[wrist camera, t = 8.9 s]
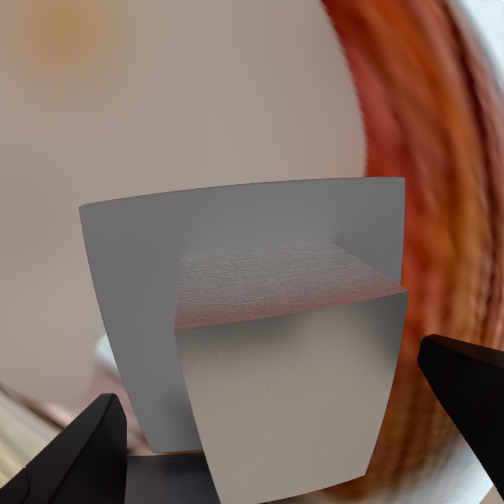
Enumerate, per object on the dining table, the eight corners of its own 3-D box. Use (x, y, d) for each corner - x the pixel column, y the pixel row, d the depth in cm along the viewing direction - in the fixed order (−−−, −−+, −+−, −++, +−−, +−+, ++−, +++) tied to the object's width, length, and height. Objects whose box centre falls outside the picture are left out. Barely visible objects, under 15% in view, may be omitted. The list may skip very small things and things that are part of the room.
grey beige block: (322, 400, 11) (364, 474, 7) (210, 420, 11) (222, 508, 7) (329, 241, 9) (409, 290, 6) (181, 258, 9) (173, 329, 5)
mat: (372, 402, 13) (378, 410, 12) (153, 442, 11) (152, 452, 11) (394, 176, 10) (404, 178, 9) (85, 204, 8) (78, 207, 8)
